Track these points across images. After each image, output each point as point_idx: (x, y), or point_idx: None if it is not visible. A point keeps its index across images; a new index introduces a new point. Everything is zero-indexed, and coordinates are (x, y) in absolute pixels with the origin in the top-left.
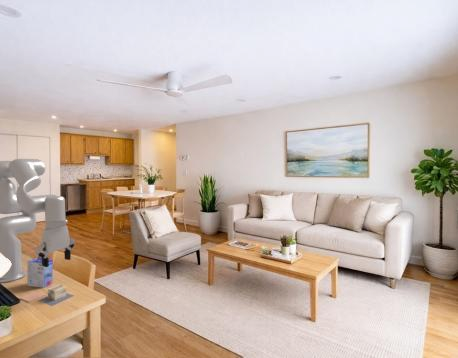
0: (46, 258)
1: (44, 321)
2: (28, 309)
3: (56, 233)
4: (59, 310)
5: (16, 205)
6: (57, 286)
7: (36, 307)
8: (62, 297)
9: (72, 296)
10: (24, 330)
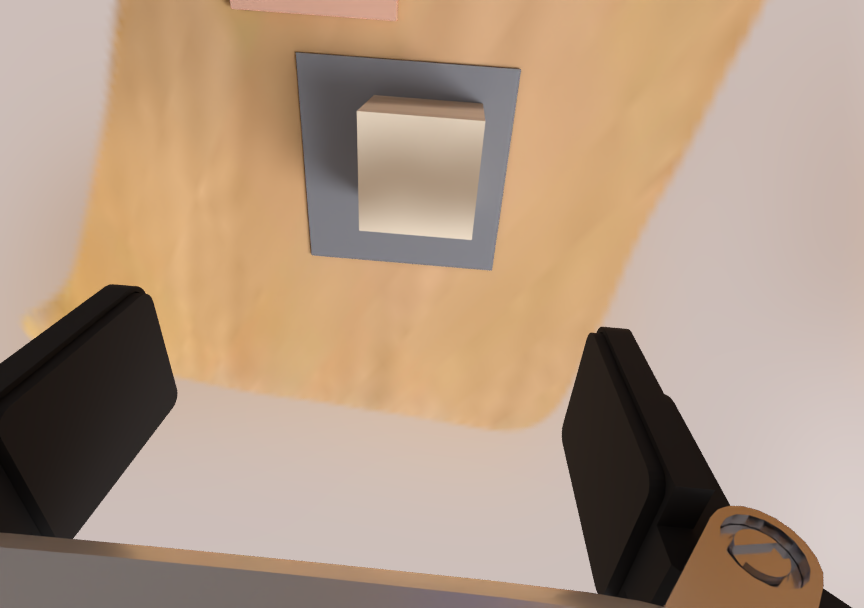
0: (21, 533)
1: (200, 358)
2: (188, 134)
3: None
4: (309, 337)
5: None
6: (440, 157)
7: (239, 163)
8: None
9: (475, 267)
10: None
